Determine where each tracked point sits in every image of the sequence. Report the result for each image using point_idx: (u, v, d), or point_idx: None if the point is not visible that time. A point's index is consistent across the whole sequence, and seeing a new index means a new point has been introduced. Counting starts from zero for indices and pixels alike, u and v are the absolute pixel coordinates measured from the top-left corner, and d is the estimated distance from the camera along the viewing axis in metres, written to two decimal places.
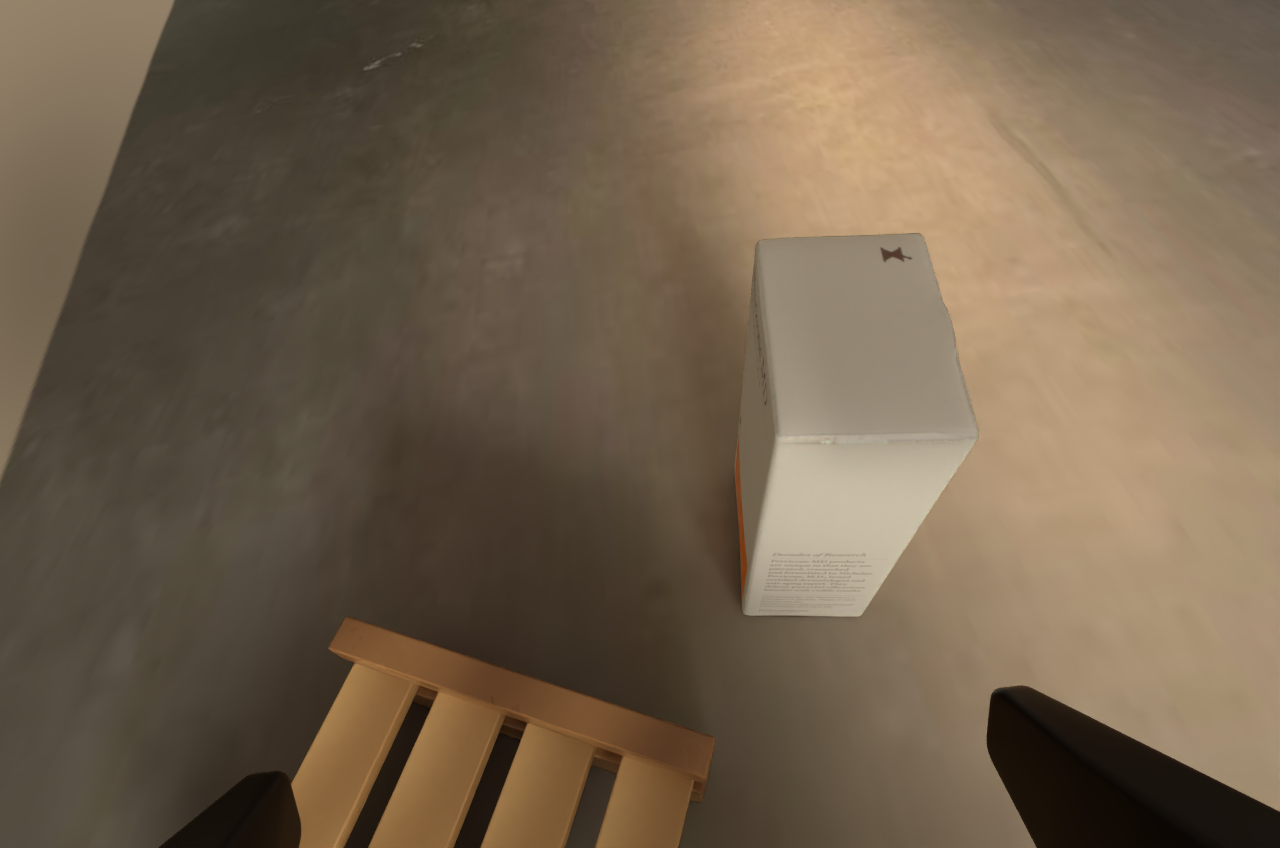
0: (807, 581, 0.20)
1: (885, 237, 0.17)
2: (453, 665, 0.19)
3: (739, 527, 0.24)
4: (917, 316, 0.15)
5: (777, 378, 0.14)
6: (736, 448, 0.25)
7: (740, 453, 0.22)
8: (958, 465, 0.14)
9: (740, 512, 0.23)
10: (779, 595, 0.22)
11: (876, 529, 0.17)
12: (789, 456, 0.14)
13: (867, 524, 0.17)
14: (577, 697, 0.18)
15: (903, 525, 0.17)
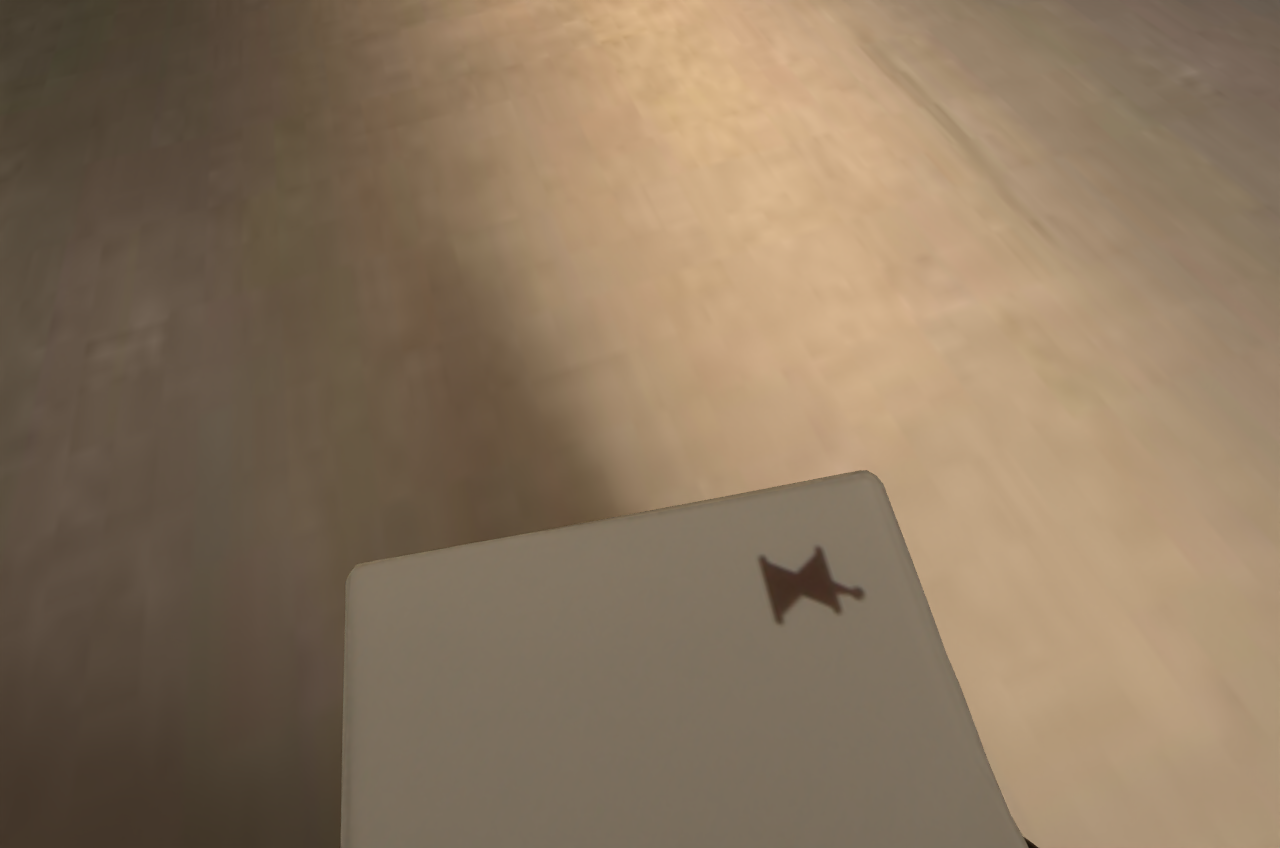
0: None
1: (769, 507, 0.05)
2: None
3: None
4: None
5: None
6: None
7: None
8: None
9: None
10: None
11: None
12: None
13: None
14: None
15: None
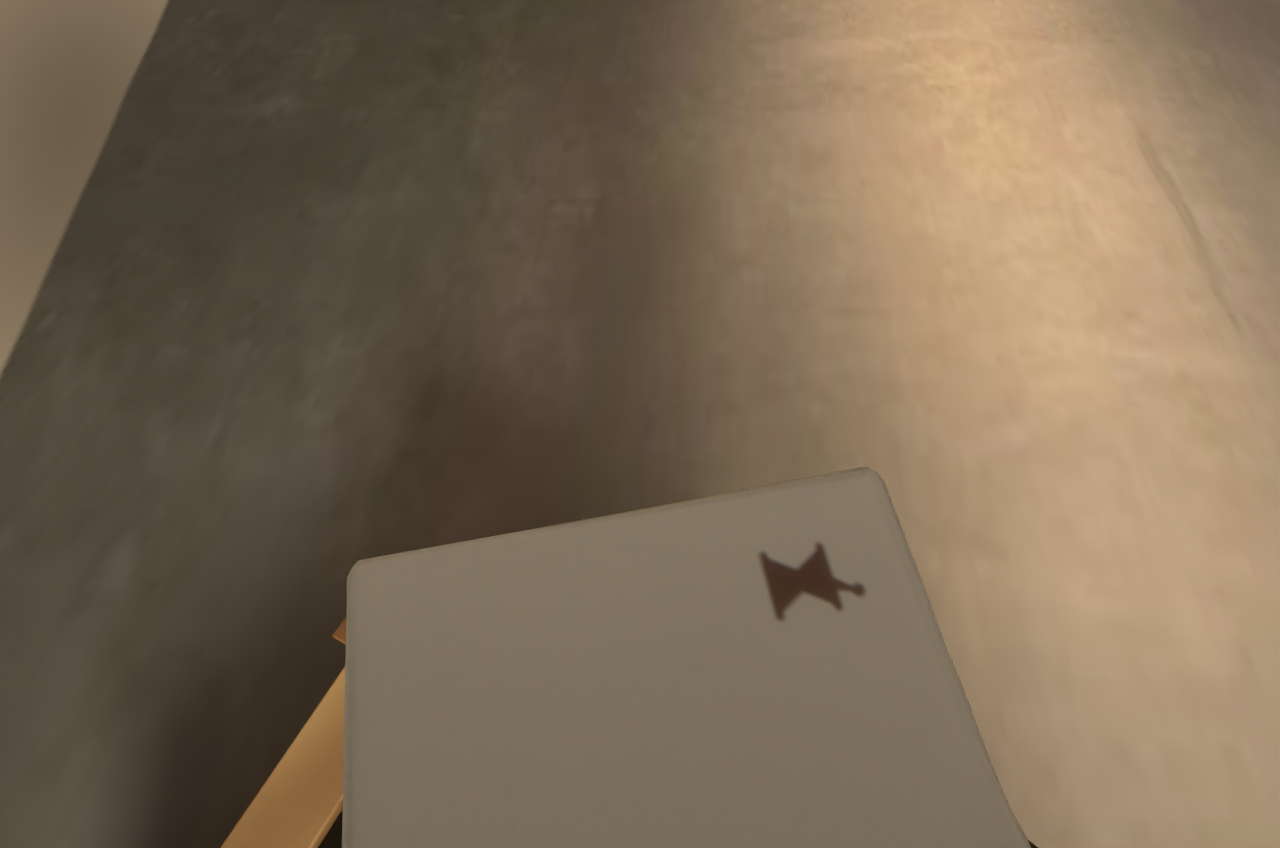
0: None
1: (770, 504, 0.05)
2: None
3: None
4: None
5: None
6: None
7: None
8: None
9: None
10: None
11: None
12: None
13: None
14: None
15: None
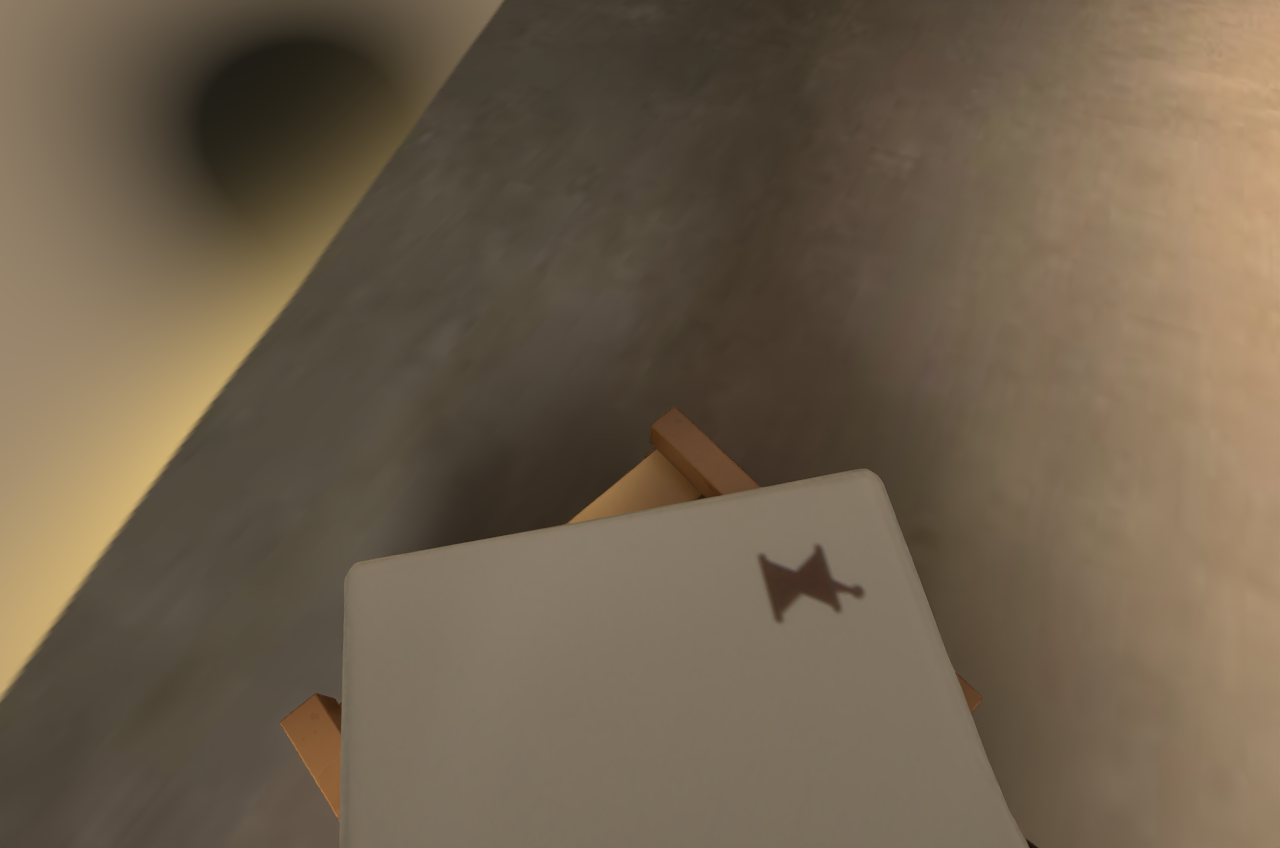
0: None
1: (768, 506, 0.05)
2: None
3: None
4: None
5: None
6: None
7: None
8: None
9: None
10: None
11: None
12: None
13: None
14: None
15: None
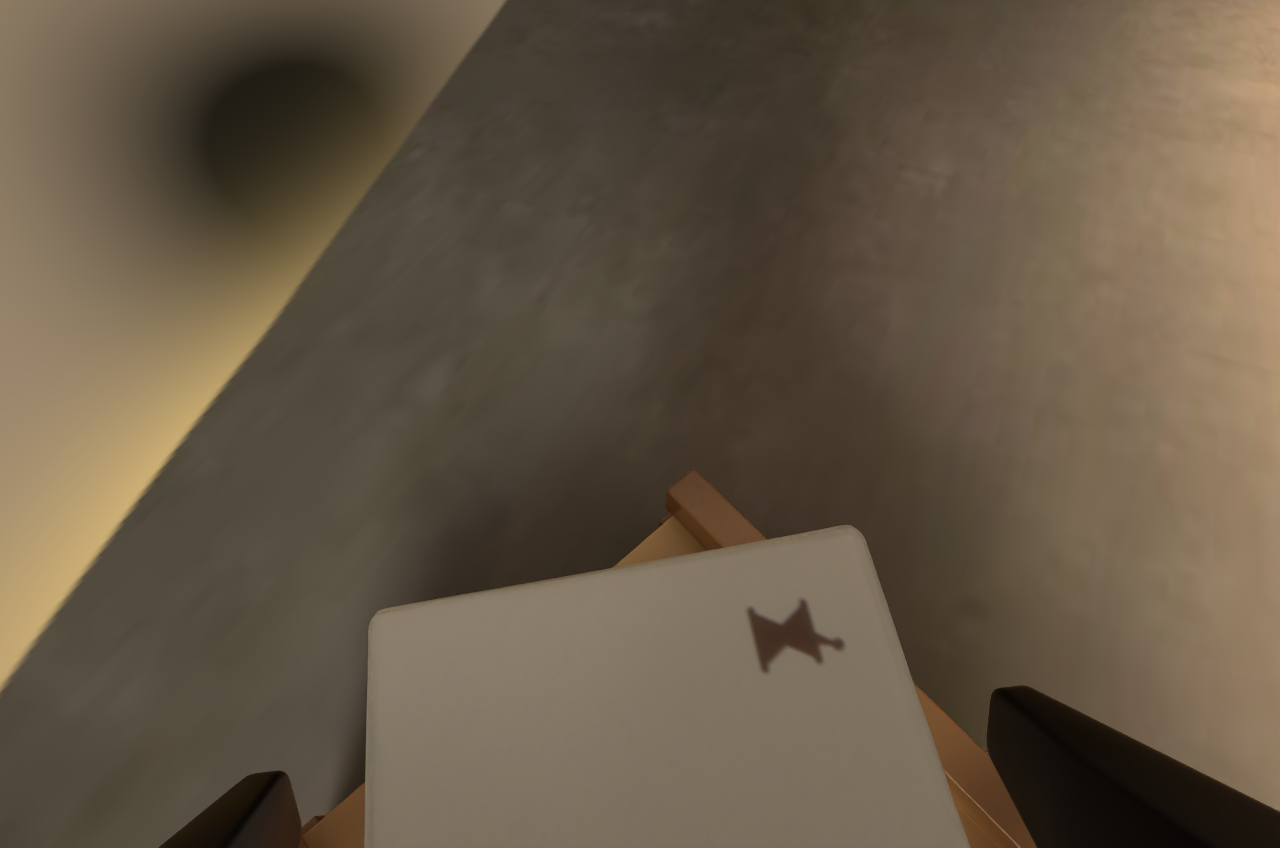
0: None
1: (758, 561, 0.05)
2: None
3: None
4: None
5: None
6: None
7: None
8: None
9: None
10: None
11: None
12: None
13: None
14: (917, 692, 0.15)
15: None
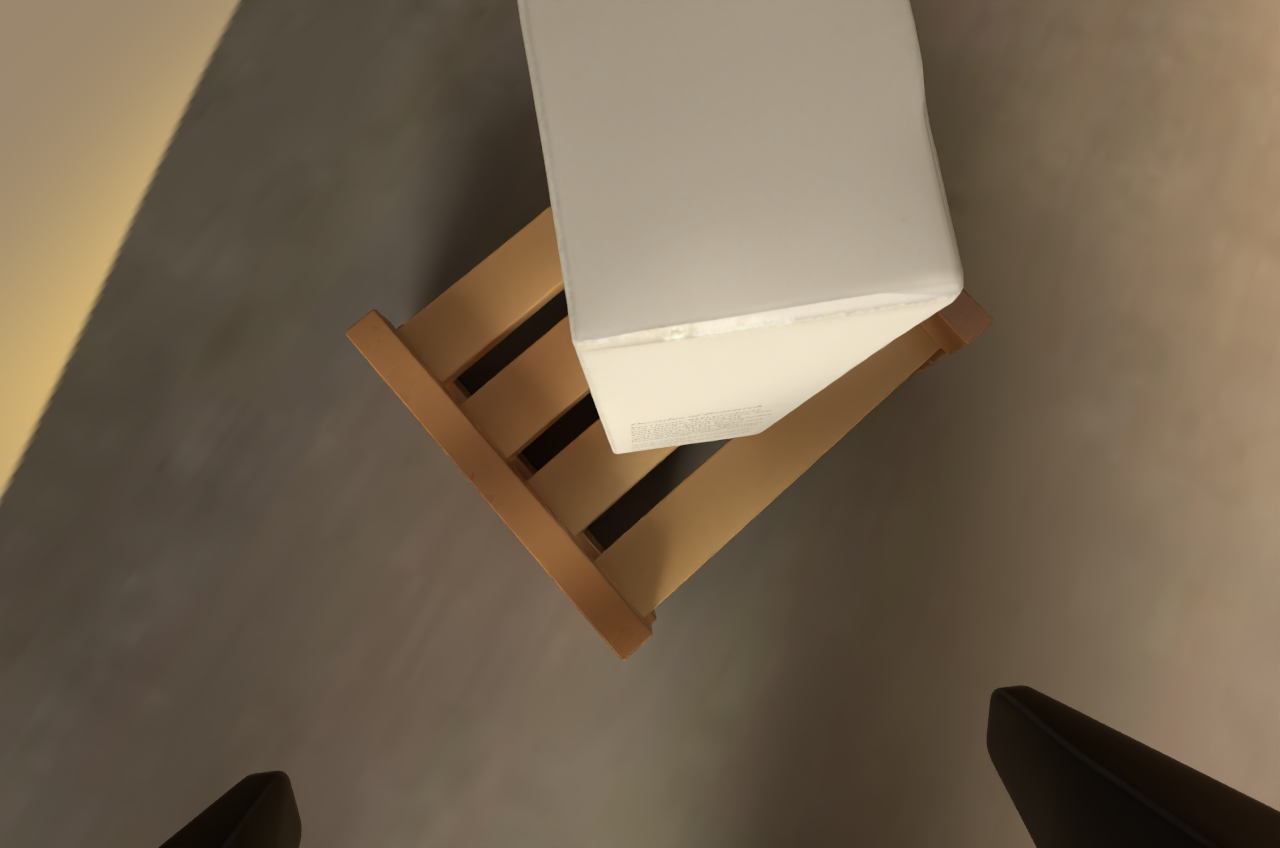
0: (686, 430, 0.15)
1: None
2: None
3: None
4: (845, 14, 0.07)
5: (566, 203, 0.07)
6: None
7: None
8: (915, 325, 0.08)
9: None
10: (653, 441, 0.16)
11: (775, 390, 0.11)
12: (610, 360, 0.07)
13: (762, 388, 0.11)
14: None
15: (816, 381, 0.11)
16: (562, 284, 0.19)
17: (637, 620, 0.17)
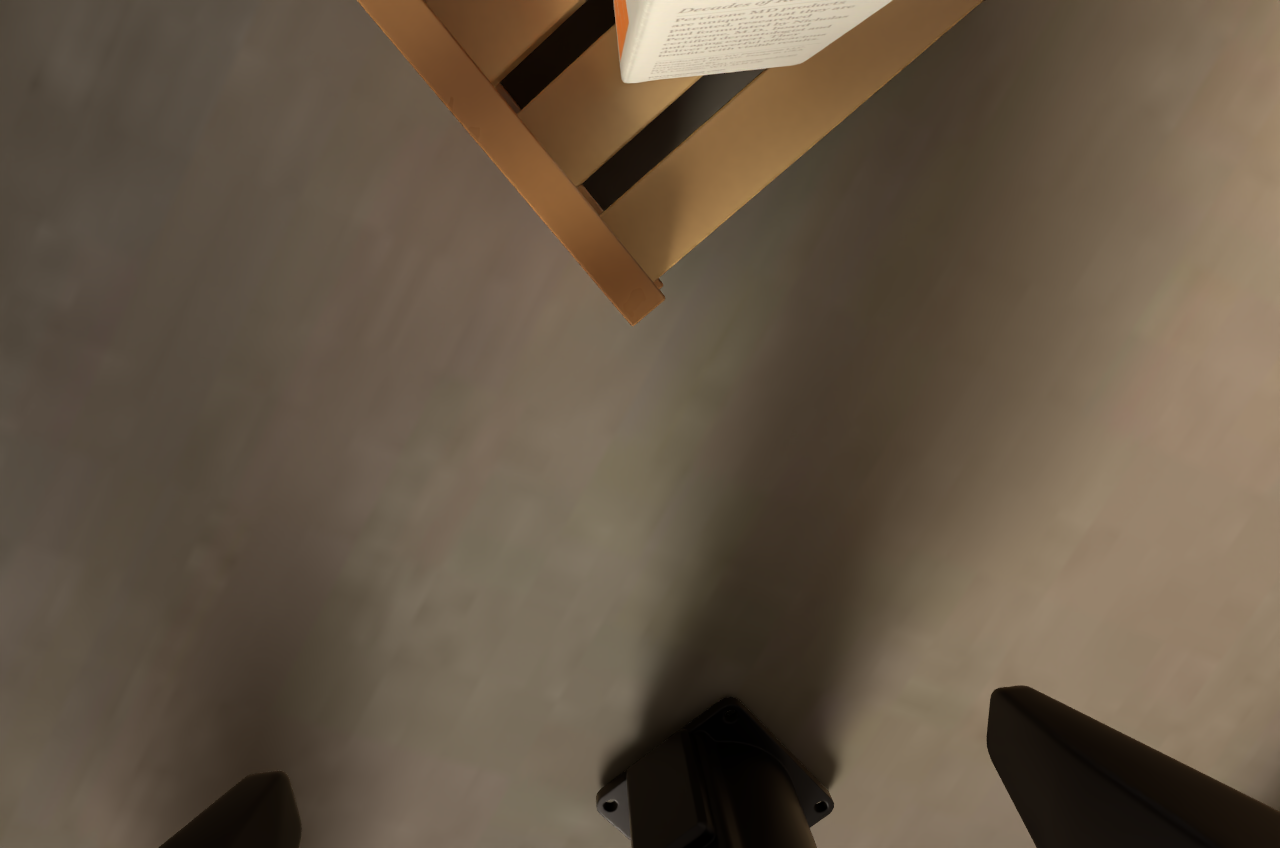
0: (733, 38, 0.12)
1: None
2: None
3: None
4: None
5: None
6: None
7: None
8: None
9: None
10: (682, 59, 0.13)
11: None
12: None
13: None
14: None
15: None
16: None
17: (649, 283, 0.15)
